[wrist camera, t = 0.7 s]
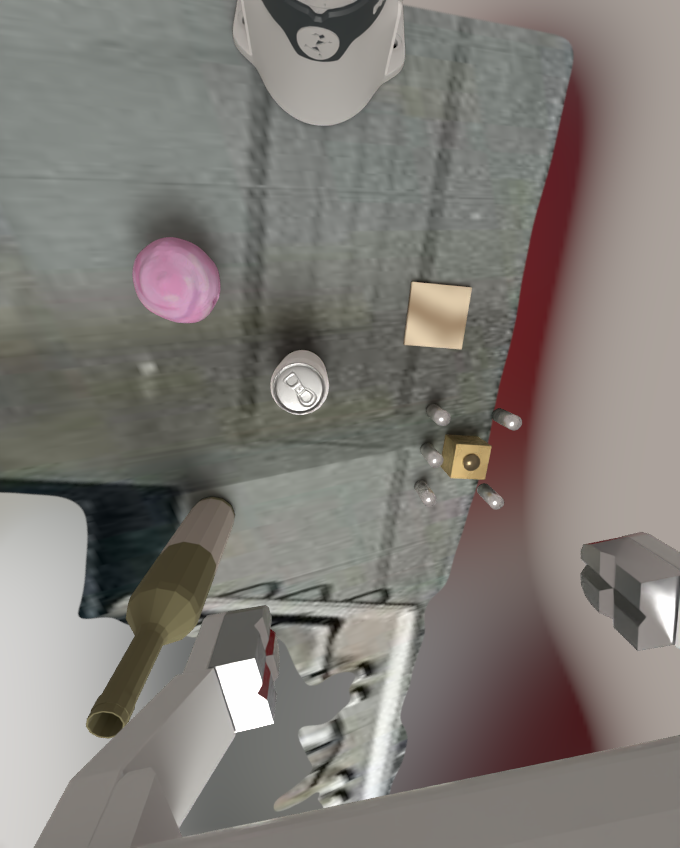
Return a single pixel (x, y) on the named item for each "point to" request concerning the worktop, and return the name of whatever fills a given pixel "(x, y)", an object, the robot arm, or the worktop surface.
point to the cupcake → (176, 280)
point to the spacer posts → (436, 459)
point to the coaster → (437, 315)
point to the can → (300, 383)
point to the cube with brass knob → (465, 457)
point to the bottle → (165, 608)
